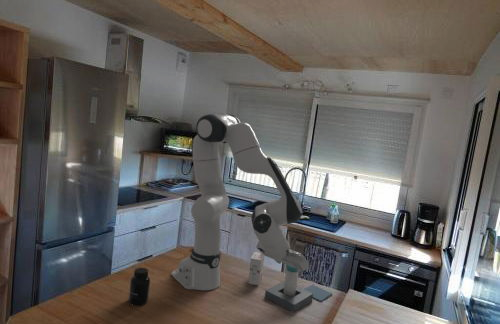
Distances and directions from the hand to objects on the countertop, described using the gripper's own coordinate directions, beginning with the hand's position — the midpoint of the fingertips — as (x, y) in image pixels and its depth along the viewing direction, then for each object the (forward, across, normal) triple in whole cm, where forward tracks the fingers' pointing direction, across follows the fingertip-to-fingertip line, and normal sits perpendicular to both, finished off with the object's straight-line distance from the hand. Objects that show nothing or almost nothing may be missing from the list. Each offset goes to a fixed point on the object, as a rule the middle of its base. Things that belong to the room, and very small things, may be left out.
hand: (289, 265), depth 135 cm
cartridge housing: (+13, 0, +8) cm, 15 cm away
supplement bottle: (-22, +34, +42) cm, 58 cm away
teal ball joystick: (+13, 0, +8) cm, 15 cm away
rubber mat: (+23, -4, -1) cm, 23 cm away
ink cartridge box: (+14, +20, +8) cm, 25 cm away
